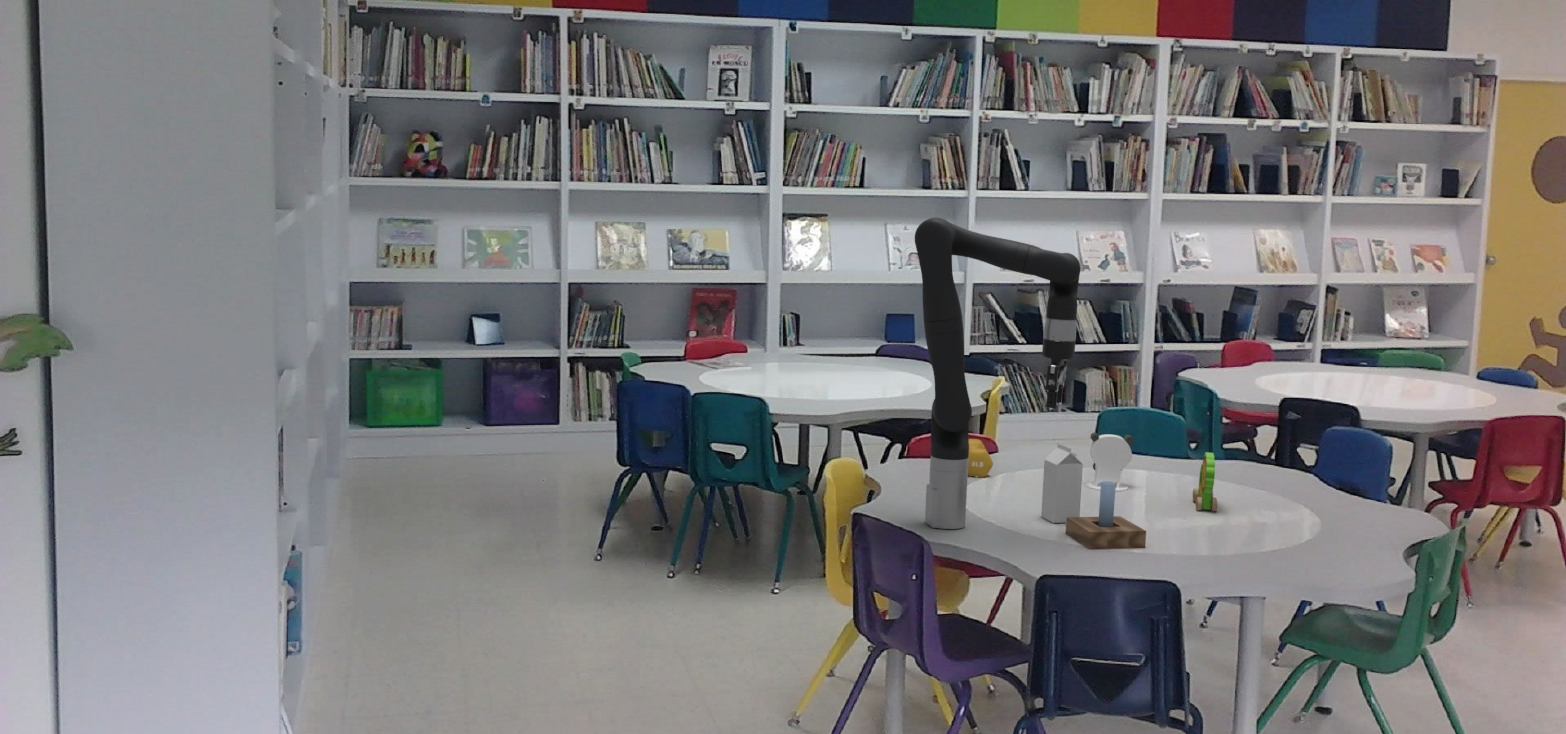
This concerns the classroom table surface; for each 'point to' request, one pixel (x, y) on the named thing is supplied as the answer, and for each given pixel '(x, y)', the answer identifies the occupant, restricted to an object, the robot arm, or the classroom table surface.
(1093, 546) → the socket
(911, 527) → the classroom table surface
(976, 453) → the dumbbell
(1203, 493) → the toy lion
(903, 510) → the classroom table surface
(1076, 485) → the milk carton
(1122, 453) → the panda figurine
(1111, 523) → the peg
